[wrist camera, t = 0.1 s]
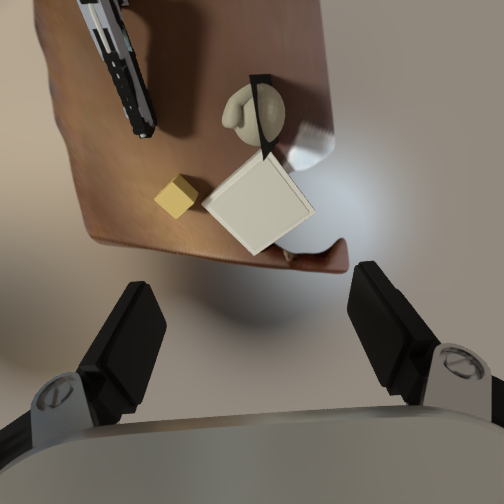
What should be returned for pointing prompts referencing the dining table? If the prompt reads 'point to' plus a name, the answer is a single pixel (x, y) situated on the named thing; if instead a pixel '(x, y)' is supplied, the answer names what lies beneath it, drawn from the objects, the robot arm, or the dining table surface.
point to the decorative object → (256, 113)
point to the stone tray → (258, 203)
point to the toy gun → (120, 61)
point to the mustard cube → (177, 196)
